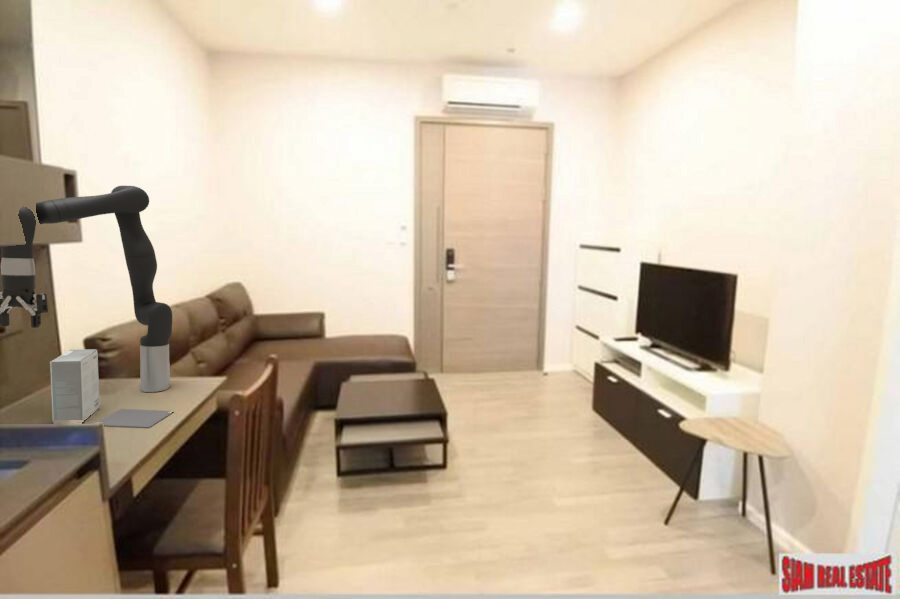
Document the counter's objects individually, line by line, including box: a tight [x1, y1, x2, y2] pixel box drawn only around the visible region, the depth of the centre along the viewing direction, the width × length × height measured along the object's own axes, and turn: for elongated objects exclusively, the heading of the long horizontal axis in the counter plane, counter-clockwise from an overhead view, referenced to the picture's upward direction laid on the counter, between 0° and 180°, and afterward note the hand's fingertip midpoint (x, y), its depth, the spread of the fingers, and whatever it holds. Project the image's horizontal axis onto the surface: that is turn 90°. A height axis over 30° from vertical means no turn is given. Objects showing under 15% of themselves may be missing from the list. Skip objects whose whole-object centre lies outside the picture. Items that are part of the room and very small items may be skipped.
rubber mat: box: [96, 408, 171, 429], centre depth 148 cm, size 14×17×1 cm
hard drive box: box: [49, 348, 101, 421], centre depth 146 cm, size 16×8×20 cm, turn 21°
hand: (20, 326), depth 141 cm, fingers open, 8 cm apart
